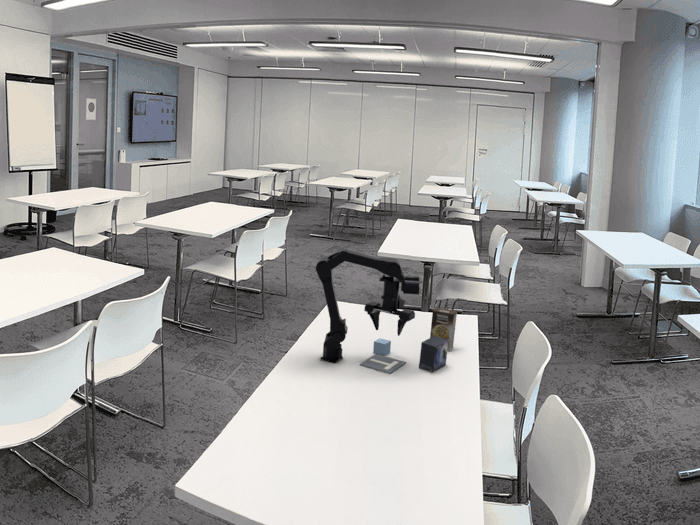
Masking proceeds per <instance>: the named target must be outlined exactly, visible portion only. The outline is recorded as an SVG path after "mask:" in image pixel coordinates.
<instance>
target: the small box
mask: <svg viewBox="0 0 700 525" xmlns="http://www.w3.org/2000/svg"><path fill="white" fill-rule="evenodd" d="M448 341H449V340H447V339H444V338H441V337H438V336H434V337H431V338H430V337H429V338H427V339H425V340H423V341H421V343H420V344H421V346H420V353H419V354H420V355H419V363H418V368H419V369H421V370H424V371H428V372H430V373H434V372H435V371H436V372H437V370H439V369H441V368H443V367H445V366H446V365H447V358H448V357H447V356H448V351H447V349H448Z"/></svg>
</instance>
